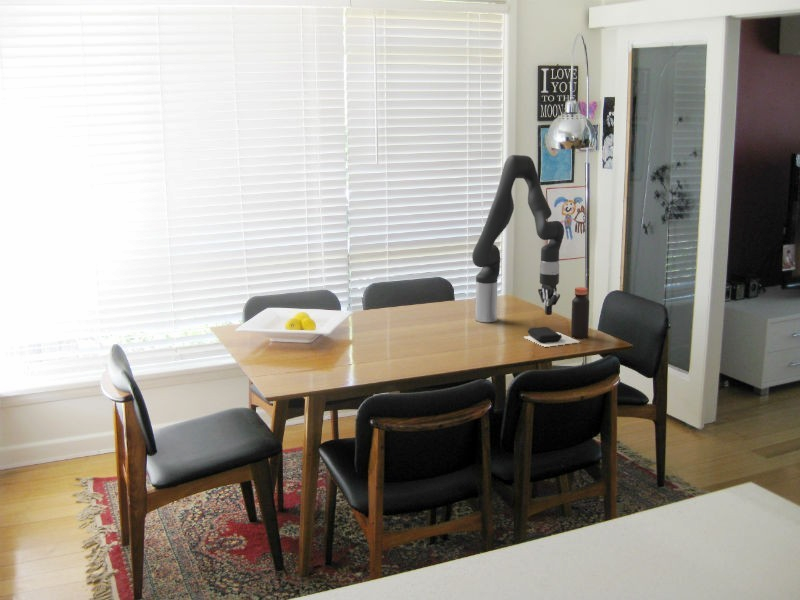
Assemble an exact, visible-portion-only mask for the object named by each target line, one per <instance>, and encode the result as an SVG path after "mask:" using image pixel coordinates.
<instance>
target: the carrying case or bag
mask: <svg viewBox="0 0 800 600" xmlns="http://www.w3.org/2000/svg"><path fill="white" fill-rule="evenodd" d="M556 332H557V331H555V330H553V329H552V328H550V327H548V326H542V327H530V328H528V330H527V333H528V334H529V335H528V336H532V337H533V338H534V339H536V340H537V341H539V342H541V343H544V342H557V341H559V340H560V339H561V338H562V336H561V334H562V333H561V334H560V335H559V334H557V333H556Z"/></svg>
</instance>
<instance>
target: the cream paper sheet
mask: <svg viewBox="0 0 800 600" xmlns="http://www.w3.org/2000/svg"><path fill="white" fill-rule="evenodd" d="M555 332H556V333H557V334H559V335H560V334H561V336H562V338H561V339H560V340H559V341H557V342H544V343H541V342H539V341H537V340H536V339H534V338H533V337H532V336H531V335H524V336H523V338H524V339H525V340H527V339H528V340H527V341H529V340H530V341H529V342H531V341H532V343H534V342H535V343H534V344H536V343H537V344H536V345H538V344H539V345H538V346H540V345H541V346H540V347H542V346H544V347H549V348H551V347H550V346H556V347H559V346H558V345H563V346H566V345H565V344H570V345H573V344H572V343H577V344H580V343H581V341H580V340H578V339H576V338H573V337H570V336H568V335H565V334H564V333H561V332H558V331H555ZM579 342H580V343H579ZM544 347H543V348H544Z"/></svg>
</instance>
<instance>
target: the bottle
mask: <svg viewBox="0 0 800 600" xmlns="http://www.w3.org/2000/svg"><path fill="white" fill-rule="evenodd" d="M574 296H575V297H574V298H573V299H572V301H571V320H570V322H571V324H570V336H571V338H573V337H574V338H573V339H577V338H580V339H579V340H581V339H582V340H584V339H583V338H585V339H587V338H588V337H589V322H590V300H589V298H588V297H587V296H588V287H583V286H578V287H575V288H574Z"/></svg>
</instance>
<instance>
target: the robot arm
mask: <svg viewBox="0 0 800 600" xmlns="http://www.w3.org/2000/svg"><path fill="white" fill-rule="evenodd" d="M538 175H539V174H538V172H537V169H536V165H535V163H534V160H533V159H532V157H530V156H529V155H524V154H523V155H520V154H512V155H508V157H507V158H506V160H505V161H504V164H503V168H502V171H501V175H500V180H499V184H498V186H497V190H496V192H495V193H496V194H495V197H494V200H493V201H492V204H491V206H490V209H489V212H488V215H487V218H486V221H485V224H484V226H483V229H482V232H481V234H480V236H479V238H478V241H477V242H476V244H475V246H474V248H473V252H472V258H471V259H472V263H473V264H474V266H476V267H477V268H478V267H479V268H481V270H480V271H479V272H478V273H477V274H476V276H475V298H474V299H475V309H474V310H475V311H474V312H475V313H474V315H475V316H474V317H475V321H476V322H479V323H494V322H497V320H498V278H499V276H500V270H501V269H500V268H501V252H500V249H499V247H498V246H497V245H496V244H495V242H496V240H497V239H498V238H499V236H500V235H501V234H502V233H503V231H505V229H506V228H507V226H508V224H509V223H510V221H511V218H512V216H513V213H514V209H515V204H514V198H513V194H512V193H513V192H512V191H513V186H514V183H515V181H516V180H517V179H523V181H524V182H525V183H526V185H527V187H528V188H527V189H528V194H527V203H528V207H529V210H530V211H531V214H532V215H533V218H534V223H535V229H536V234H537V236H538V237H539V238H540V239H541V240H543V241H547V240H548V243H547V244H545V245H543V246H542V247H541V249H540V264H539V283H540V285H541V288H538V290H537V291H538V294H539V297H540V300H541V303H543V305H544V315H547V316H550V315H552V313H553V306H556V305H557V303H558V301H559V299H560V297H561V294H559V293H557V291H558V289H557V288H558V287H557V285H559V284H560V250H561V246H562V242H563V239H564V235H565V227H564V225H563V223H562V222H561V221H559V220H554V221H553V220H552V221H548V220H549V219H550V217H551V216H552V210H551V208H550V205H549V203H548V201H547V200H546V197H545V195H544V193H543V190H542V186H541V182H540V178H539V176H538Z"/></svg>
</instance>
